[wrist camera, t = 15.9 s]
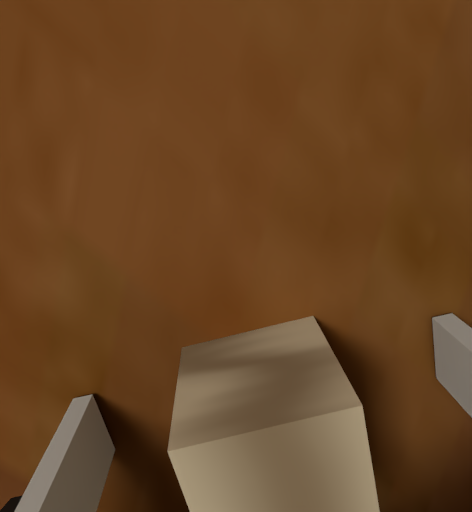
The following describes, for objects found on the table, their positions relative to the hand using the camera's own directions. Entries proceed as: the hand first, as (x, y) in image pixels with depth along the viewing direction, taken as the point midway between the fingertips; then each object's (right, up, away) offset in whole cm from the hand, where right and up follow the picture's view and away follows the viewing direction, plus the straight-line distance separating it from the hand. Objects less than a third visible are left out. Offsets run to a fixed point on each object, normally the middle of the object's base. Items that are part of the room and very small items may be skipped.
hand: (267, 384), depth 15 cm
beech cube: (0, 0, 0) cm, 0 cm away
